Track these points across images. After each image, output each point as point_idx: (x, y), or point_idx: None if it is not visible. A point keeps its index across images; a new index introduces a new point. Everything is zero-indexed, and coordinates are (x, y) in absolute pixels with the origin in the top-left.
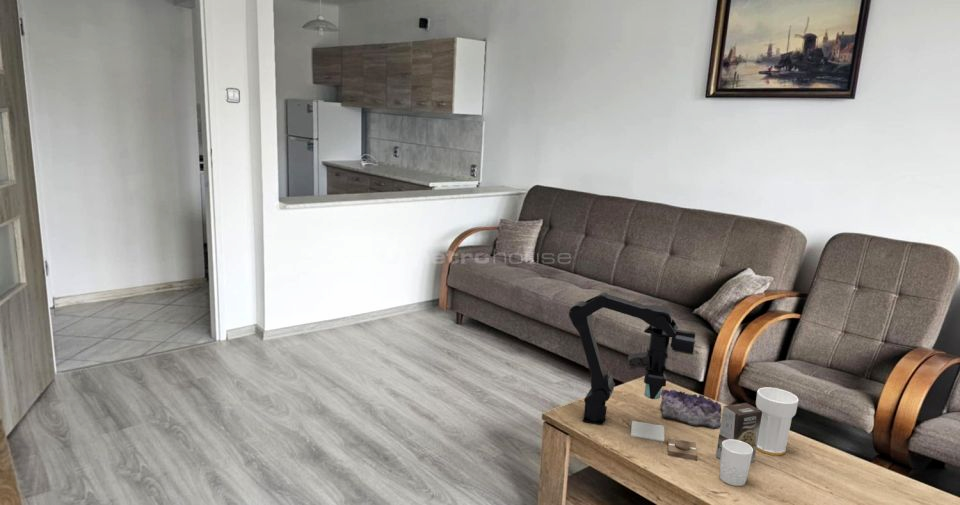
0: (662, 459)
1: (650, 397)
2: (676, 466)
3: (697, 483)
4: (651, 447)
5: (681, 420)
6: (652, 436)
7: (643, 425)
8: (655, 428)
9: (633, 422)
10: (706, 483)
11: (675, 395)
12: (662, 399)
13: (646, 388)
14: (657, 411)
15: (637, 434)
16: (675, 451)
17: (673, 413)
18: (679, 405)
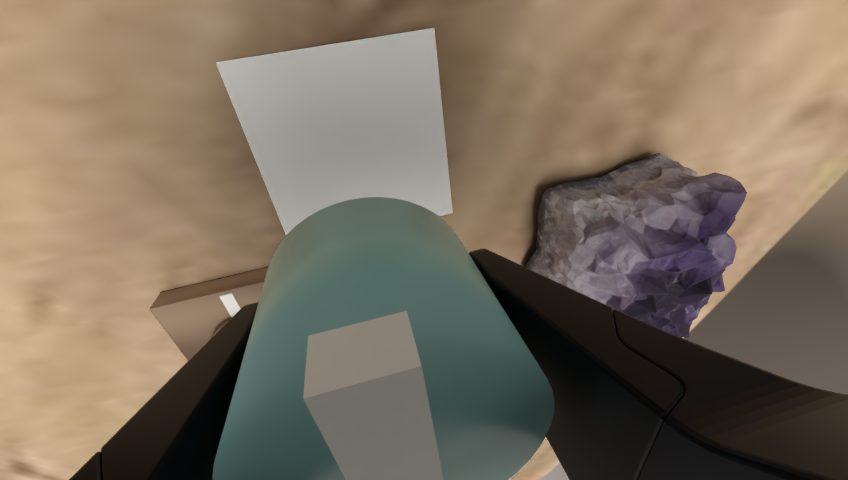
0: (89, 282)
1: (232, 320)
2: (84, 342)
3: (20, 425)
4: (175, 209)
5: (528, 268)
6: (296, 190)
7: (403, 115)
8: (403, 183)
9: (411, 43)
10: (59, 440)
11: (659, 282)
12: (669, 184)
13: (274, 316)
14: (611, 146)
15: (255, 105)
16: (171, 332)
17: (551, 247)
18: (582, 293)
